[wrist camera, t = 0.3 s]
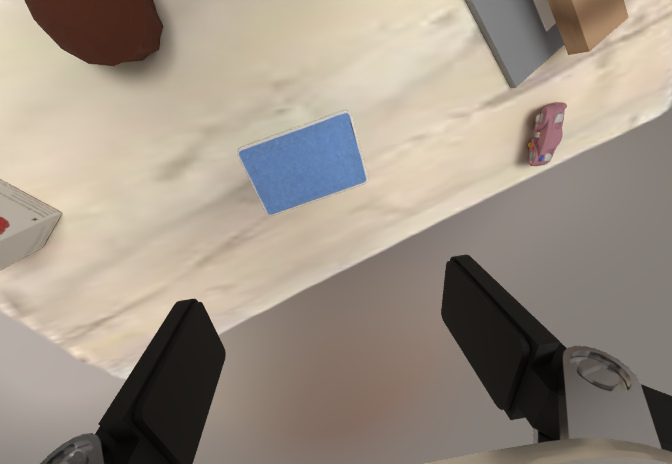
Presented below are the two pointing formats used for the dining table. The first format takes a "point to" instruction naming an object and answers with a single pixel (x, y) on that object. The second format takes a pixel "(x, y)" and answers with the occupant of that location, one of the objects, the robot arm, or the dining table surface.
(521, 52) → the label panel
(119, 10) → the muffin
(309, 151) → the tablet computer
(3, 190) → the supplement box
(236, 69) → the dining table surface
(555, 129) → the video game controller
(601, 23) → the swing bar
